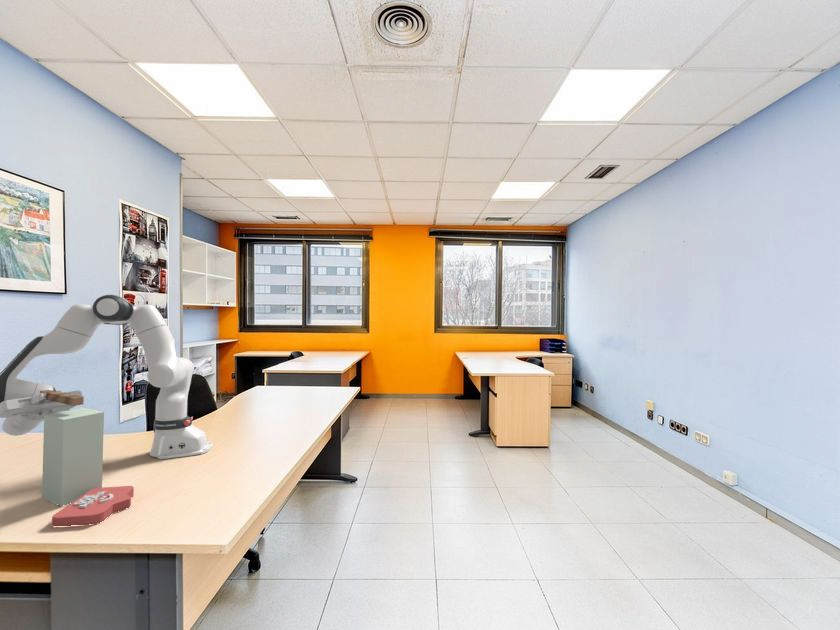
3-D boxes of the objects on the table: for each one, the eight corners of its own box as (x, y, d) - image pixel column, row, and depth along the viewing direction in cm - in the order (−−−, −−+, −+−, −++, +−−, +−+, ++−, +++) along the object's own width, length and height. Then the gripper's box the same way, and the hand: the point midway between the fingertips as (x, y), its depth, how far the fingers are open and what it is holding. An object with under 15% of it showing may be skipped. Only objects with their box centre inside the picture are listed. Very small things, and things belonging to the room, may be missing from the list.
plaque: (111, 511, 101) (47, 516, 98) (111, 525, 101) (47, 530, 98) (146, 482, 119) (93, 486, 116) (146, 494, 119) (92, 498, 116)
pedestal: (41, 498, 114) (44, 414, 114) (82, 485, 123) (84, 407, 123) (61, 507, 109) (63, 419, 109) (101, 492, 118) (103, 412, 118)
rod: (39, 398, 123) (39, 390, 123) (49, 396, 126) (49, 389, 126) (73, 405, 114) (74, 398, 114) (83, 404, 116) (83, 396, 116)
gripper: (-12, 408, 118) (5, 390, 113) (69, 396, 137) (87, 380, 132) (-8, 426, 117) (9, 409, 112) (73, 412, 136) (91, 396, 131)
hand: (52, 393), depth 122 cm, fingers closed on rod, 2 cm apart
